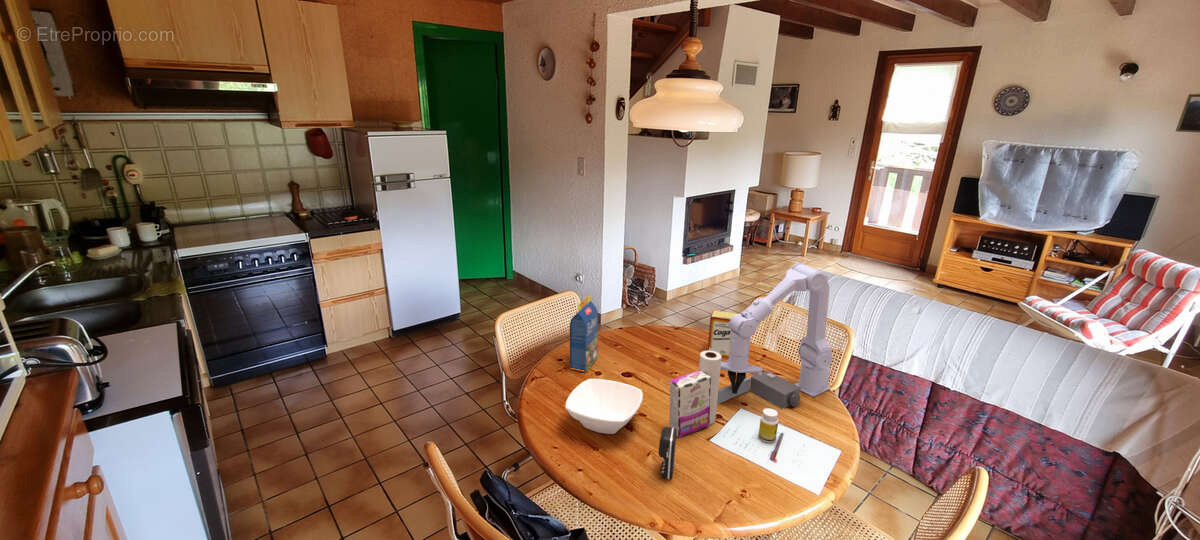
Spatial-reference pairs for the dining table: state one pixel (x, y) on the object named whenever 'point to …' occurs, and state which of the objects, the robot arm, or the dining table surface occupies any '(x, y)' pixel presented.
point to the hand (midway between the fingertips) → (734, 391)
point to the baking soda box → (720, 332)
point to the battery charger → (667, 451)
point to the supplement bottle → (768, 425)
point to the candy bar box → (690, 402)
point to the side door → (727, 391)
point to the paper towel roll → (711, 367)
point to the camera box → (775, 389)
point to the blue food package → (584, 336)
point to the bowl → (604, 404)
